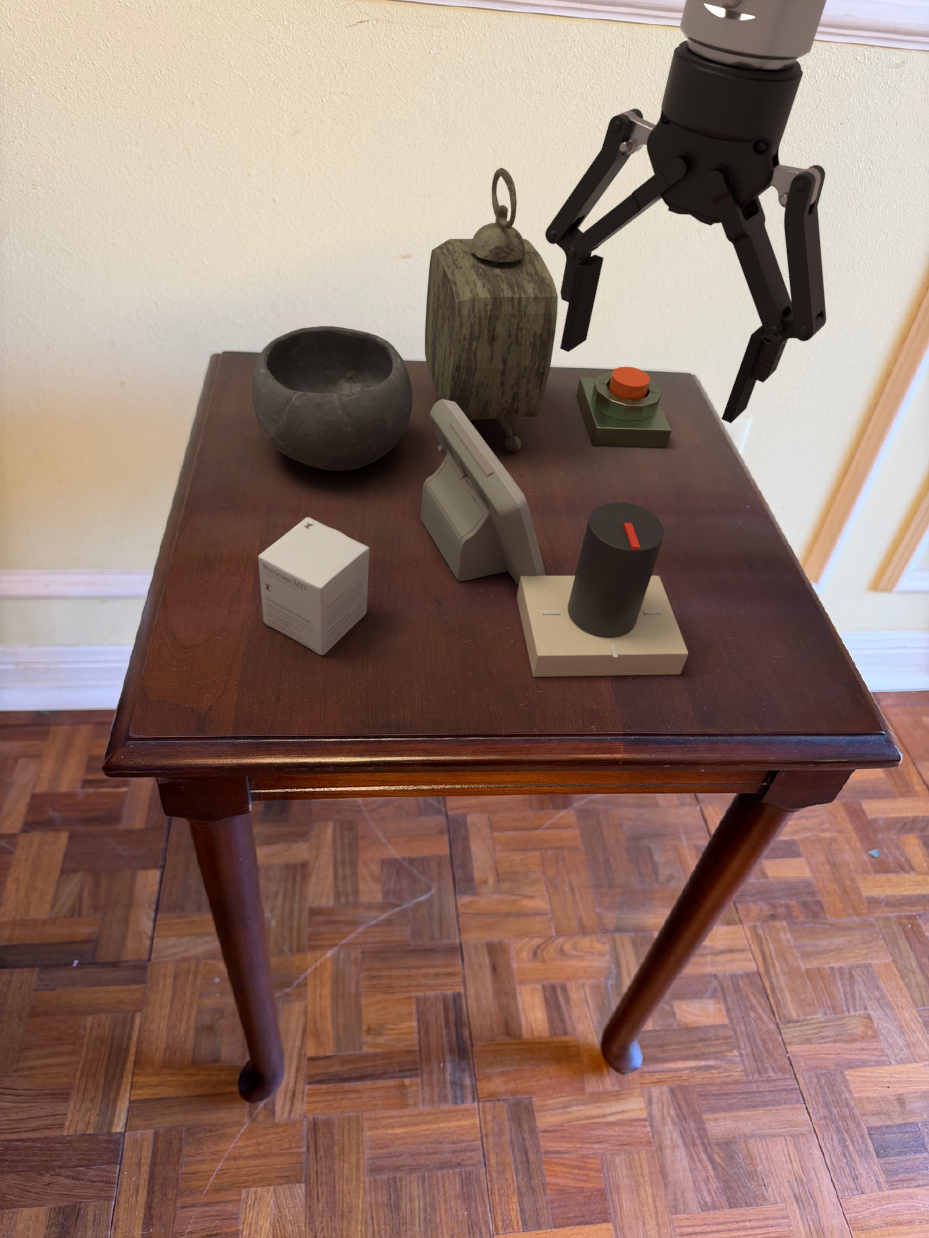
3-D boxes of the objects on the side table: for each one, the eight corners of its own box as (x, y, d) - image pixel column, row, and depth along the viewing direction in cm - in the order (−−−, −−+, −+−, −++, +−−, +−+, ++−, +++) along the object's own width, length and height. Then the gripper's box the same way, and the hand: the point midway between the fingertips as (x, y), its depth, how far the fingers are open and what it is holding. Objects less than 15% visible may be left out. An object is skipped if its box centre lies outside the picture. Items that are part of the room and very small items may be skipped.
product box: (261, 624, 71) (254, 554, 66) (309, 582, 75) (307, 513, 70) (322, 658, 69) (321, 589, 64) (369, 613, 73) (371, 545, 68)
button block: (666, 447, 94) (676, 415, 91) (592, 445, 93) (600, 412, 90) (645, 397, 101) (653, 365, 98) (576, 394, 100) (582, 362, 97)
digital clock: (548, 600, 76) (570, 500, 68) (443, 608, 74) (455, 506, 67) (503, 484, 87) (518, 387, 79) (411, 489, 85) (418, 390, 78)
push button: (649, 402, 94) (654, 387, 92) (612, 400, 93) (616, 385, 92) (641, 381, 96) (645, 367, 95) (605, 380, 96) (608, 365, 95)
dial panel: (651, 593, 78) (658, 570, 76) (681, 678, 71) (691, 656, 69) (515, 593, 76) (519, 570, 74) (533, 681, 69) (538, 657, 67)
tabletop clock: (533, 461, 90) (578, 206, 73) (446, 466, 88) (470, 205, 71) (498, 385, 100) (530, 144, 82) (418, 388, 98) (434, 142, 80)
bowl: (416, 495, 84) (423, 402, 77) (255, 497, 82) (246, 401, 75) (402, 409, 95) (406, 320, 88) (258, 408, 92) (251, 317, 85)
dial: (561, 588, 73) (583, 498, 67) (627, 588, 74) (655, 499, 68) (574, 638, 69) (598, 547, 63) (644, 637, 70) (674, 547, 64)
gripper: (526, 7, 54) (485, 334, 69) (939, 123, 45) (788, 469, 60) (589, -6, 58) (538, 303, 73) (975, 96, 49) (826, 424, 64)
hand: (650, 378), depth 67 cm, fingers open, 13 cm apart
